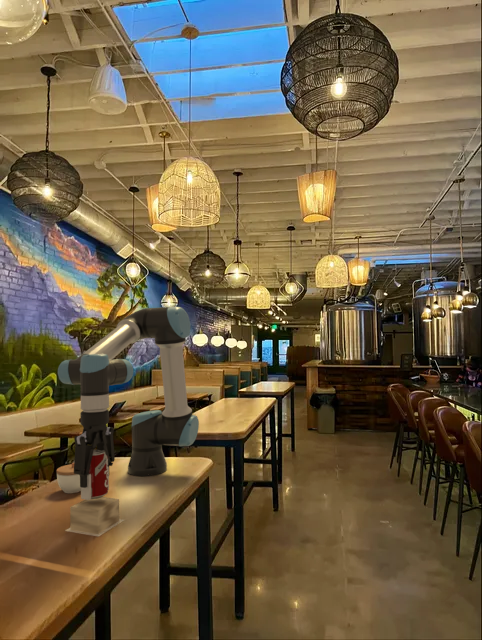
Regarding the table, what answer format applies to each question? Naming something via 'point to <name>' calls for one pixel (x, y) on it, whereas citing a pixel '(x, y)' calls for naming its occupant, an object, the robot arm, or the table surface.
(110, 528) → the grey square plate
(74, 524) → the beech block
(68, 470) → the lidded jar
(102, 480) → the soda can
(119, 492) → the table surface
